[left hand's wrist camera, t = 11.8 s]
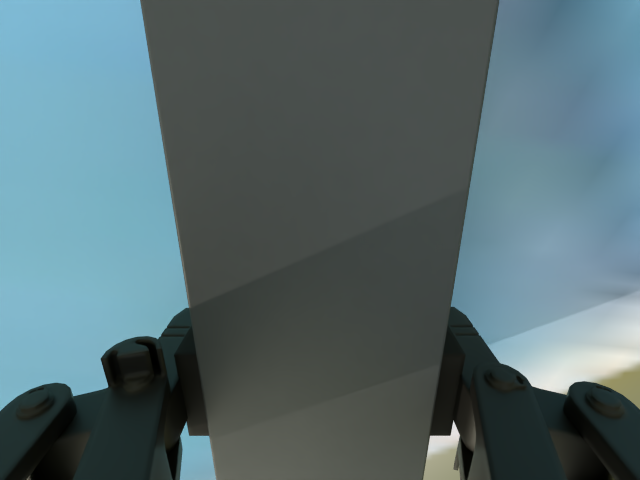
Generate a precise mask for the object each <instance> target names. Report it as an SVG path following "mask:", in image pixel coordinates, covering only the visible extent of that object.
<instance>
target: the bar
mask: <svg viewBox="0 0 640 480" xmlns="http://www.w3.org/2000/svg"><path fill="white" fill-rule="evenodd" d="M140 1H141V8H142V14H143V20H144V27H145V33H146V39H147V45H148V52H149V58H150V64H151V71H152V77H153V83H154V90H155V96H156V102H157V109H158V115H159V121H160V127H161V134H162V140H163V146H164V153H165V159H166V165H167V172H168V178H169V184H170V191H171V197H172V203H173V210H174V216H175V222H176V228H177V235H178V241H179V247H180V254H181V260H182V266H183V273H184V279H185V285H186V292H187V298H188V304H189V311H190V317H191V323H192V329H193V336H194V342H195V348H196V355H197V361H198V367H199V374H200V380H201V386H202V393H203V399H204V405H205V411H206V418H207V424H208V430H209V437H210V443H211V449H212V456H213V462H214V468H215V475H216V480H423V476H424V469H425V463H426V457H427V451H428V445H429V438H430V432H431V426H432V419H433V413H434V407H435V401H436V394H437V388H438V382H439V376H440V369H441V363H442V357H443V350H444V344H445V338H446V332H447V325H448V319H449V313H450V307H451V300H452V294H453V288H454V281H455V275H456V269H457V263H458V256H459V250H460V244H461V238H462V231H463V225H464V219H465V212H466V206H467V200H468V194H469V187H470V181H471V175H472V168H473V162H474V156H475V150H476V143H477V137H478V131H479V125H480V118H481V112H482V106H483V99H484V93H485V87H486V81H487V74H488V68H489V62H490V56H491V49H492V43H493V37H494V30H495V24H496V18H497V12H498V5H499V0H140Z"/></svg>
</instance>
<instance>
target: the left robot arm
mask: <svg viewBox="0 0 640 480" xmlns="http://www.w3.org/2000/svg"><path fill="white" fill-rule="evenodd" d="M101 362H102V365H103V369H104V372H105V376H106V379H107V383H108V388H106V389H103V390H99V391H95V392H91V393H86V394H82V395H78V396H73V394H72V391H71V388H70V387H68V386H67V385H66V384H61V383H52V384H45V385H42V386H39V387H36V388H33V389H31V390H29V391H27V392H25V393H23V394H21V395H20V396H18V397H16V398H15V399H14V400H13V401H11V402H10V403H9V404H8V405H6V406H5V407H4V408H3V409H2V410H1V411H0V480H180V470H181V459H182V443H181V438H180V435H181V433H182V430H183V428H184V426H185V423H186V421H187V426H188V431H189V436H209V430H208V424H207V418H206V411H205V405H204V399H203V393H202V386H201V380H200V374H199V367H198V361H197V355H196V348H195V342H194V336H193V329H192V323H191V317H190V311H189V308H185V309H184V310H183V311H181V312H180V313H178V314H177V315H176V316H174V317H173V319H172V320H171V322H170V323H169V324H168V326H167V328H166V329H165V330H164V332H163V333H162V334H161V337H159V339H156V338H153V337H149V336H144V337H135V338H131V339H127V340H125V341H122V342H120V343H118V344H116V345H114V346H113V347H112V348H110V349H109V350H107V351H106V352H105V354H104V355H103V356H102V358H101ZM453 420H454V422H455V425H456V427H457V429H458V432H459V434H460V438H459V443H458V448H457V453H456V457H455V463H454V470H458V468H459V469H460V480H640V409H639V408H638V407H636V406H635V405H634V404H633V403H632V402H631V401H630V400H628V399H627V398H626V397H624V396H623V395H622V394H620V393H618V392H616V391H614V390H612V389H611V388H608V387H606V386H603V385H600V384H597V383H591V382H585V381H583V382H575V383H574V384H572V385H571V386H570V387H569V390H568V393H567V395H564V394H560V393H556V392H551V391H547V390H543V389H539V388H535V387H532V386H531V384H530V383H529V381H528V380H527V378H526V377H525V376H523V375H522V374H521V373H520V372H519V371H517V370H515V369H513V368H511V367H509V366H507V365H504V364H501V363H499V361H498V360H497V359H496V357H495V356H494V354H493V353H492V352H491V350H490V349H489V347H488V346H487V345H486V343H485V342H484V340H483V339H482V337H481V336H479V333H478V332H477V330H476V329H475V328H474V327H473V325H472V323H471V322H470V321H469V319H468V318H467V316H466V315H464V314H463V313H462V312H460V311H459V310H457V309H456V308H455V307H450V313H449V319H448V325H447V332H446V338H445V344H444V350H443V357H442V363H441V369H440V376H439V382H438V388H437V394H436V401H435V407H434V413H433V419H432V426H431V432H430V436H450V435H451V430H452V424H453Z"/></svg>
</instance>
